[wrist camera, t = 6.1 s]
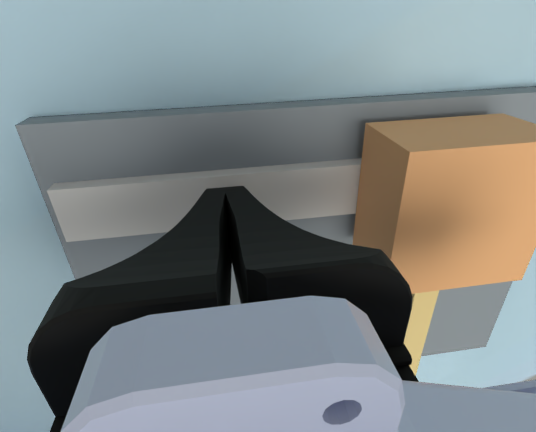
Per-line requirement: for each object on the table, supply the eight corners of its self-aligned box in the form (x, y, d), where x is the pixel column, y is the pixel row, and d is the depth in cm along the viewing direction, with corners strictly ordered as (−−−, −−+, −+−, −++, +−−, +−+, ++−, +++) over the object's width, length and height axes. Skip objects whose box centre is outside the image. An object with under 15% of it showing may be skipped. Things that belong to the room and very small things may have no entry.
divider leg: (338, 364, 18) (360, 426, 15) (363, 121, 12) (409, 152, 9) (429, 351, 18) (467, 408, 16) (499, 112, 12) (581, 138, 10)
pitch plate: (126, 382, 18) (115, 430, 16) (29, 117, 12) (-12, 139, 9) (474, 332, 21) (505, 369, 18) (567, 84, 14) (633, 96, 12)
